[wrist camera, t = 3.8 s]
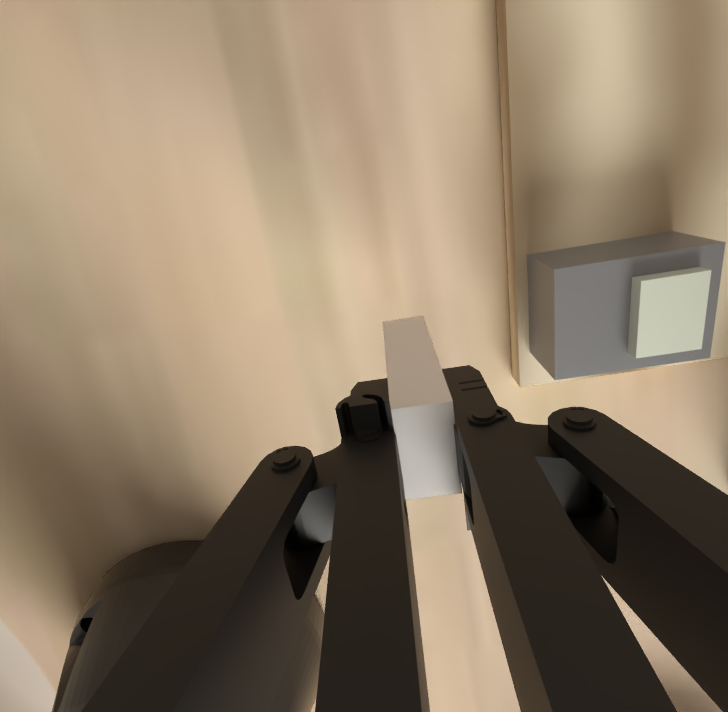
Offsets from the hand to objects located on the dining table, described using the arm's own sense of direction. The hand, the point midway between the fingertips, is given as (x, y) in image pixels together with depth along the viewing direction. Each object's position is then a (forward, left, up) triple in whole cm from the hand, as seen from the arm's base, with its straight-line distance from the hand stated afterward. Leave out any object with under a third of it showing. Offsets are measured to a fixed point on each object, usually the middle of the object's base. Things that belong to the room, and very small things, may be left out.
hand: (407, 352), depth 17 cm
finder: (+9, 0, -4) cm, 9 cm away
